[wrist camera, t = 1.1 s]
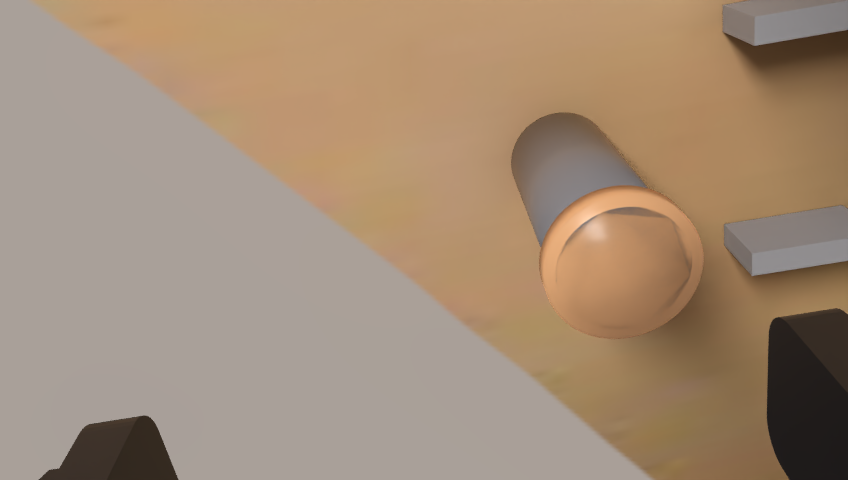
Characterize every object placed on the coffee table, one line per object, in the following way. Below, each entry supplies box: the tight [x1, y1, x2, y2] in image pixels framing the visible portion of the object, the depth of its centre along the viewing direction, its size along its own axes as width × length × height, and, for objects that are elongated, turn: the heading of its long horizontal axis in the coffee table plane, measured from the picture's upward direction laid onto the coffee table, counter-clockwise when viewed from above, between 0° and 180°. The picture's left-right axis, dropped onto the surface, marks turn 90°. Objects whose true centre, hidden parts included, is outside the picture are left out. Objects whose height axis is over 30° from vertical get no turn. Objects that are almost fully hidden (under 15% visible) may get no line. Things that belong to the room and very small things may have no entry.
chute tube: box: [511, 113, 704, 339], centre depth 33 cm, size 6×6×12 cm
